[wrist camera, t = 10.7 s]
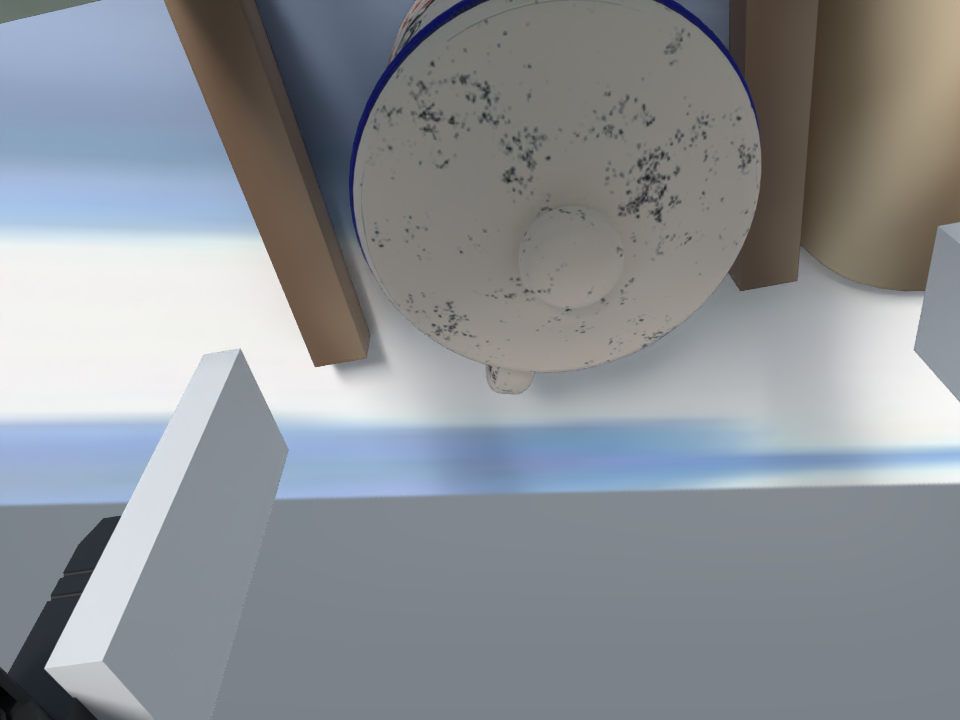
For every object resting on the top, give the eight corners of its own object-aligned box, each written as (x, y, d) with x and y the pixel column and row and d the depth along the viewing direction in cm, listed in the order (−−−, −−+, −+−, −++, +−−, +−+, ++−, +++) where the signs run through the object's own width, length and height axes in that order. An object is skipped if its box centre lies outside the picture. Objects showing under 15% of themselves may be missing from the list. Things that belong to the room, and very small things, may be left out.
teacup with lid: (384, -92, 20) (324, -30, 10) (702, -52, 21) (912, 39, 11) (374, 285, 27) (332, 527, 17) (612, 304, 28) (696, 544, 18)
